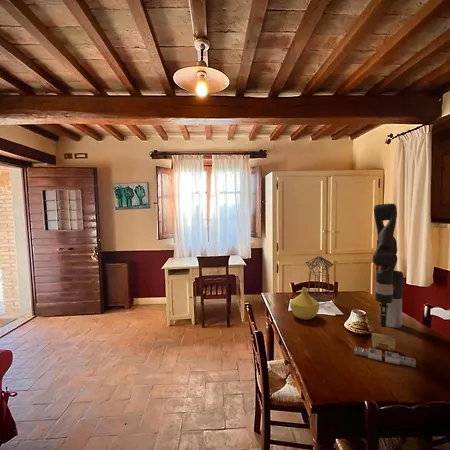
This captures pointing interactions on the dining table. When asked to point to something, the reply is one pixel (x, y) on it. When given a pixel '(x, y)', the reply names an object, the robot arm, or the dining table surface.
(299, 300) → the vase
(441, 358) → the dining table surface
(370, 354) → the chain ends
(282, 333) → the dining table surface
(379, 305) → the robot arm
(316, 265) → the geometric lantern
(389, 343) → the master link
